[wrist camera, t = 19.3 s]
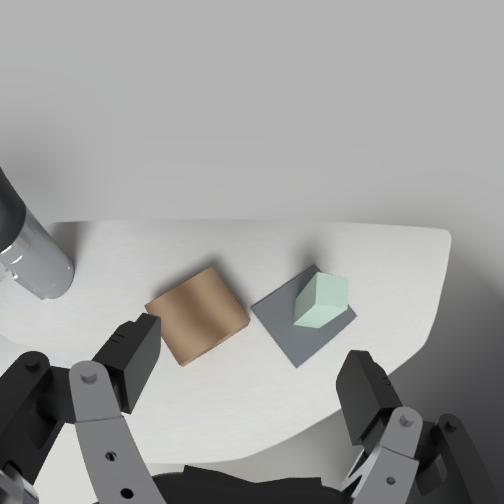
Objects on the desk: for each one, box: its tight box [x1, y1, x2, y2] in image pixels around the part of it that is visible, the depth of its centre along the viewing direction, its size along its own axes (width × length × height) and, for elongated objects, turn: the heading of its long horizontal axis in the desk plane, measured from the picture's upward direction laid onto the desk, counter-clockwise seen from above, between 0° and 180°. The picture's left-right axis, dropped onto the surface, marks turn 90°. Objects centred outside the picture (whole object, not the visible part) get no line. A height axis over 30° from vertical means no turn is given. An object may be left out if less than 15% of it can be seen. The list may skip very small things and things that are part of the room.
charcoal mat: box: [251, 264, 357, 368], centre depth 43 cm, size 14×12×1 cm
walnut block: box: [145, 266, 251, 367], centre depth 39 cm, size 12×10×4 cm
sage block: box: [293, 272, 348, 328], centre depth 38 cm, size 4×4×11 cm
